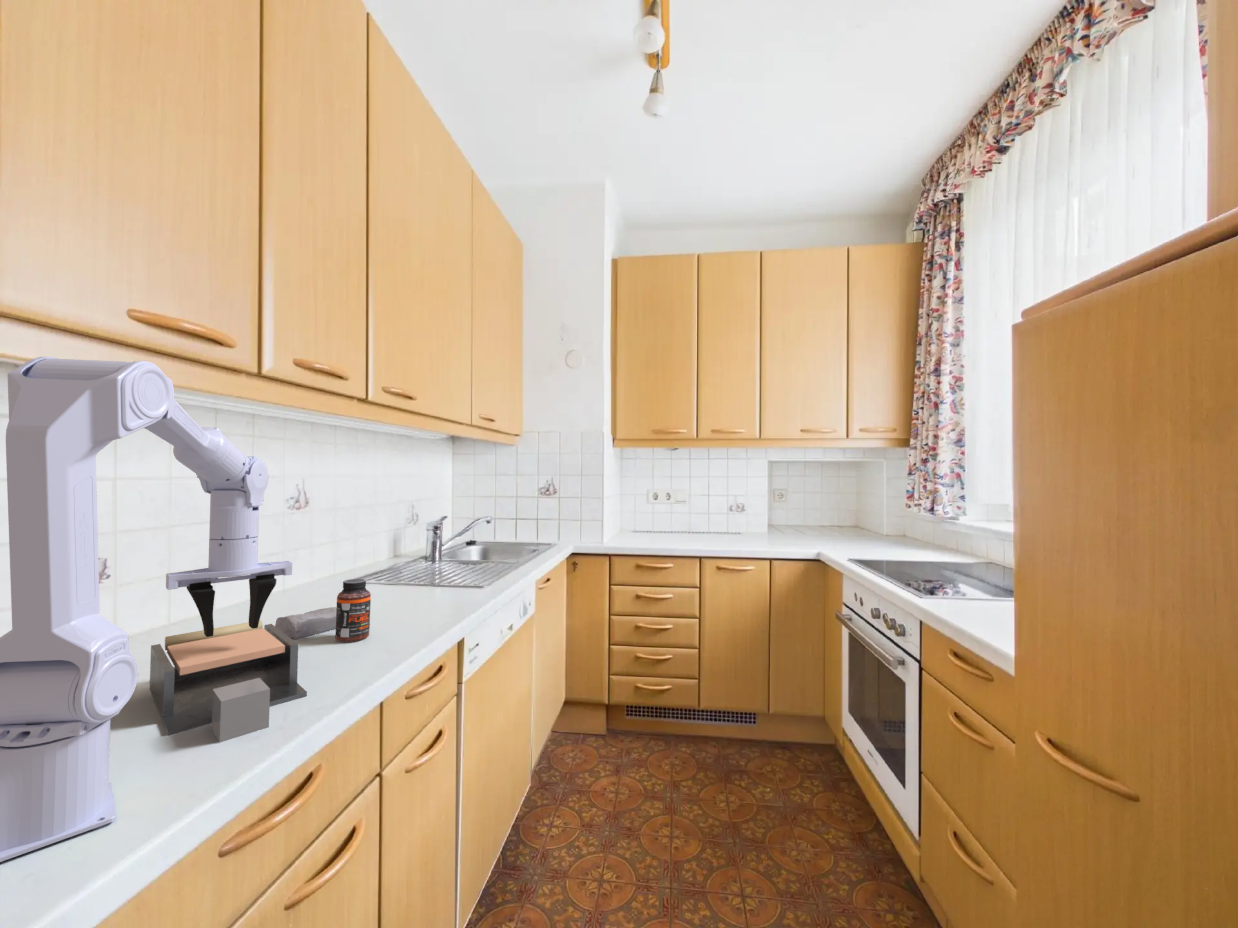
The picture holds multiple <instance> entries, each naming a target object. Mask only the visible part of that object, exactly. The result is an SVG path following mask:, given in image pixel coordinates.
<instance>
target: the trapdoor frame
mask: <svg viewBox="0 0 1238 928" xmlns="http://www.w3.org/2000/svg"><path fill="white" fill-rule="evenodd" d="M263 626H264V627H263V628H264V629H265V630H266V631H267V632H269V633H270V634H271V635H272V636H274V637H275V638H276V639H277V640H279V641H280V642H281V643H282V644H284V645H285V652H284V653H279V654H275V655H270V656H266V657H261V658H257V659H252V660H248V661H243V662H239V663H234V664H230V665H225V666H220V667H216V668H211V669H207V670H202V671H198V672H193V673H189V674H184V675H179V673H178V671H177V670H176V668H175V666H174V665H172V664H173V663H171V660H170V658H168V657H169V656H167V653H166V652H165V649H164V648H163V647H162V645H161V643H158V644H152V645H150V665H149V669H150V670H149V691H150V694H151V697H152V699H153V702H154V705H155V706H156V709H157V712H158V714H159V716H160V719H161V721H162V724H163V726H164V730H165V731H166V733H167V736H170V735H174V734H177V733H181V732H184V731H188V730H191V729H192V730H193V729H196V728H198V727H201V726H205V725H209V724H212V693H213V689H215V688H220V687H224V686H228V685H232V684H236V683H240V682H244V681H248V680H252V679H257V678H260V679H261V680H262V681H263V682H264V683H265V684H266V685H267V686H268V687H269V688H270V705H269V707H272V706H277V705H279V704H282V703H283V704H284V703H286V702H290V701H294V700H297V699H300V698H301V699H302V698H304V697H307V696H308V691H307V690H306V689H304V688H303V687H302V686H301V685H300V684H299V683H298V666H299V663H298V661H299V643H298V642H296V641H295V639H293V638H290V637H288V636H287V635H286V634H284V633H283V632H282V631H280V630H279V629H278V628H276V627H275V625H273V624H272V623H269V624H268V623H267V624H264V625H263Z"/></svg>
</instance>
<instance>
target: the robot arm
mask: <svg viewBox="0 0 1238 928" xmlns="http://www.w3.org/2000/svg"><path fill="white" fill-rule="evenodd" d="M7 395H8V396H7V397H8V398H7V399H8V422H7V426H6V429H5V430H6V431H5V457H6V458H5V459H6V463H5V464H6V487H7V488H6V489H7V515H8V518H7V519H8V544H9V546H8V547H9V571H10V572H9V573H10V574H9V575H10V577H9V578H10V600H11V601H10V602H11V603H10V604H11V605H10V606H11V608H10V609H11V628H12V629H11V630H9V631H8V632H6V633H4V634H3V635H2V636H0V863H2V862H4V861H7V860H10V859H13V858H15V857H18V856H21V855H24V854H27V853H29V852H32V851H35V850H39V849H41V848H43V847H46V846H49V845H52V844H54V843H58V842H60V841H63V840H66V839H68V838H69V839H70V838H72V837H74V836H77V835H80V834H83V833H86V832H88V831H90V830H91V831H92V830H94V829H96V828H100V827H102V826H105V825H108V824H110V823H113V822H114V821H115V820H116V819H117V810H116V803H115V798H114V791H113V785H112V782H111V781H110V779H109V776H110V774H109V773H110V750H111V749H110V743H111V741H110V740H111V720H112V718H113V717H115V716H117V715H119V714H120V712H121V710H123V708H124V707H125V706H126V704H127V703H128V702H129V701H130V699H131V697H132V696H133V694H134V692H135V689H136V688H137V687H136V686H137V684H138V678H139V669H138V664H137V662H136V659H135V658H134V656H133V654H132V652H131V649H130V643H129V634H128V633H127V632H126V631H125V630H123V629H122V628H121V627H119V626H118V625H117V624H114V623H113V622H111V621H110V620H109V619H106V618H105V617H104V616H102V615H101V610H100V609H101V608H100V577H99V576H100V574H99V572H100V571H99V537H98V534H99V531H98V501H97V500H98V499H97V497H98V495H97V492H98V491H97V489H98V488H97V463H96V462H97V459H96V458H97V456H98V455H97V454H98V453H99V452H100V451H102V450H103V449H104V448H105V447H106V446H108V445H109V444H110V443H111V442H113V441H115V440H119V439H123V438H124V437H127V436H130V435H131V434H133V433H135V432H136V433H137V432H138V431H140V430H142V429H146V430H147V431H149V432H150V433H152V434H154V435H155V436H156V437H158V438H160V439H161V440H163V441H165V442H167V443H168V444H170V445H171V446H172V447H173V448H172V449H173V450H172V451H173V452H172V453H173V455H174V458H175V459H176V460H177V461H178V462H179V463H180V464H182V465H183V466H184V467H186V468H187V469H189V470H190V471H191V472H193V473H194V474H195V475H196V478H198V479H199V481H200V482H199V483H200V486H201V488H202V490H203V492H204V493H205V494H209V495H210V498H209V499H210V500H209V501H210V502H209V504H210V505H209V533H208V534H209V536H208V537H209V539H208V567H206V568H205V567H204V568H199V569H192V570H185V571H179V572H178V571H177V572H170V573H169V572H167V573H166V574H165V588H166V590H168V591H170V590H176V589H179V588H186V589H187V592H188V594H190V596H191V599H192V600H193V602H194V604H195V606H196V609H197V610H198V612H199V615H200V616H199V617H200V618H201V622H202V627H203V628H202V629H203V630H204V634H205V636H206V637H210V636H213V632H214V628H215V626H214V605H215V603H214V602H215V597H216V591H215V590H214V585H212V584H220V583H226V582H227V583H228V582H235V581H237V582H238V581H243V580H248V584H249V585H248V588H249V612H248V622H249V626H250V627H251V628H252V629H254V628H258V624H259V620H260V619H261V616H262V613H263V610H264V607H265V605H266V602H267V601H268V599H269V597H270V595H271V594H272V592H273V590H274V588H275V587H276V584H277V578H275V577H276V576H292V575H293V562H292V561H289V560H285V561H284V560H283V561H274V562H273V561H270V562H258V559H259V558H258V555H259V554H258V552H259V551H258V550H259V524H260V523H259V520H260V519H259V518H260V506H263V502H264V499H265V491H266V489H267V486H268V483H269V479H270V477H269V476H270V474H269V472H268V467H267V465H266V463H265V461H263V460H262V459H259V458H258V457H257V456H256V455H255V456H253V455H252V456H248V455H246V453H244V452H243V451H242V450H240V449H239V448H238V447H237V446H236V445H235V444H234V443H233V442H232V441H230V439H228V438H227V437H226V436H225V435H224V434H223V432H222V431H221V429H220V428H218V427H209V426H200V425H199V424H198V423H197V421H195V420H194V419H193V418H192V416H191V415H190V414H189V413H187V411H186V410H185V409H184V408H183V407H182V406H181V405H180V403H179V402H177V401H176V399H175V388H174V382H173V380H172V379H171V378H170V377H168V376H166V375H165V372H163V370H162V369H161V368H160V367H159V366H158V365H156V364H155V363H153V362H151V361H147V360H134V361H119V360H118V361H117V360H116V361H115V360H97V359H96V360H95V359H92V360H91V359H76V358H74V359H72V358H71V359H69V358H56V357H54V356H37V357H34V358H32V359H30V360H28V361H26V362H24V363H23V364H21V365H20V366H18V367H17V368H15V369H13V370H12V371H10V372H8V373H7Z"/></svg>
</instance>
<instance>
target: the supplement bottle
mask: <svg viewBox="0 0 1238 928" xmlns="http://www.w3.org/2000/svg"><path fill="white" fill-rule="evenodd" d="M342 582H343V583H342V590H341V591H340V592H339V593H338V594H337V596H336V608H337V609H336V629H335V639H336V641H338V642H342V643H353V642H354V643H355V642H359V641H362V640H365V639H367V637H369V635H370V629H371V628H370V627H371V626H370V625H371V621H370V620H371V604H372V603H371V597H372V595H371V594H372V593H371V592H370V591H369V590H368V589H367V588H366V587H367V585H366V584H367V580H366V579H365V578H350V579H346V580H344V581H342Z"/></svg>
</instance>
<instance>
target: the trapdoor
mask: <svg viewBox="0 0 1238 928" xmlns="http://www.w3.org/2000/svg"><path fill="white" fill-rule="evenodd" d="M263 626H264V625H263V621H262V620H259V624H258V628H254V629H252V628H251V627H250V626H249V621H248V622H243V623H237V624H231V625H226V626H220V627H214V632H213V636H210V637H206V636H205V634H204V629H203V630H202V629H201V630H198V631H197V630H196V631H192V632H191V631H190V632H185V633H180V634H174V635H170V636H169V635H168V636H165V637H164V651H166V655H168V656H167V657H169V660H170V662H172V663H171V664H173V667H175V668H176V670H177V671H178V673H179V675H184V674H189V673H193V672H198V671H202V670H207V669H211V668H216V667H220V666H225V665H230V664H234V663H239V662H243V661H248V660H252V659H257V658H261V657H266V656H270V655H275V654H279V653H284V652H285V645H284V644H282V643H281V642H280V641H279V640H277V639H276V638H275V637H274V636H272V635H271V634H270V633H269V632H267V631H266V630H265V629H264V627H263Z"/></svg>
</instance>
